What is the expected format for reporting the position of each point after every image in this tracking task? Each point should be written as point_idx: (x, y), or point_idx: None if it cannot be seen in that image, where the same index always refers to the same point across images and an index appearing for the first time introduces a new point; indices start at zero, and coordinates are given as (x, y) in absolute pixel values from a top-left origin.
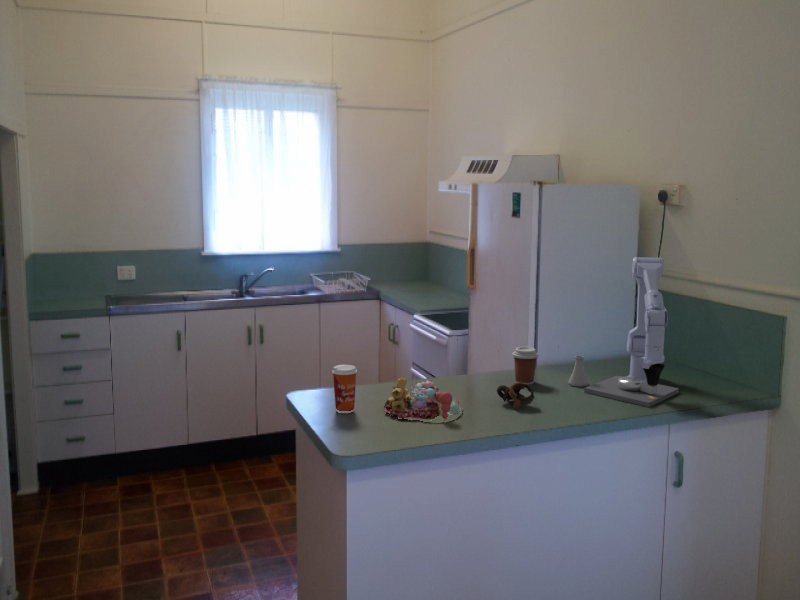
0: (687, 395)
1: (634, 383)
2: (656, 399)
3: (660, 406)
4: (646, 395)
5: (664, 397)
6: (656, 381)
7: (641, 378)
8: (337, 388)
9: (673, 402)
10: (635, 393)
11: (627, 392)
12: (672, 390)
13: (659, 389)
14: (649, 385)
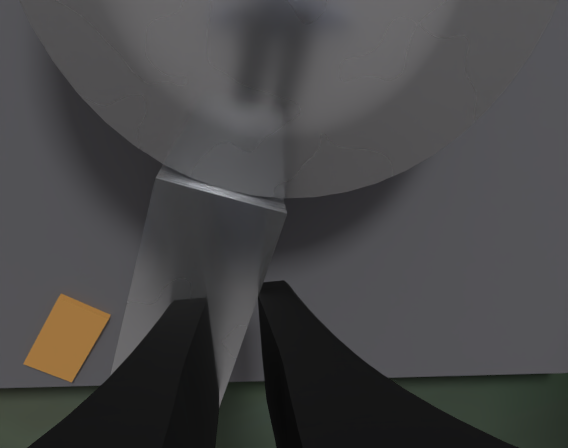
0: (519, 412)
1: (99, 75)
2: (69, 384)
3: (42, 405)
4: (106, 261)
5: None
6: (272, 413)
7: (537, 21)
8: None
9: (245, 422)
10: (67, 122)
11: (10, 2)
12: (489, 361)
13: (451, 261)
14: (120, 350)
